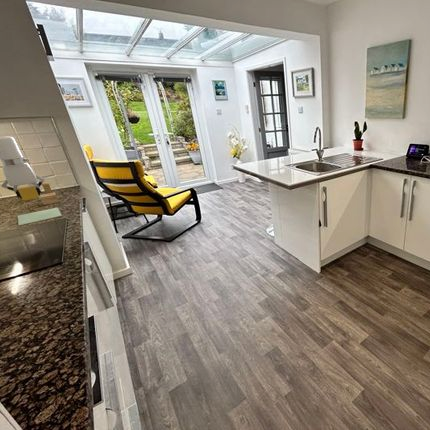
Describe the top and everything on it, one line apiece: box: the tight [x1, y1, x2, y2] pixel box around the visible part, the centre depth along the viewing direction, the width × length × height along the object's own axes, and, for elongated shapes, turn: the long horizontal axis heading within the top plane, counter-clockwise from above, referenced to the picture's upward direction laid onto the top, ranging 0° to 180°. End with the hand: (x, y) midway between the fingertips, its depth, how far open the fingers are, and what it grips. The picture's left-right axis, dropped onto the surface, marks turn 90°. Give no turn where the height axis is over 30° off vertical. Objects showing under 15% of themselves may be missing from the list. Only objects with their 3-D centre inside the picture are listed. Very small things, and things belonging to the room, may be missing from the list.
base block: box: [39, 192, 60, 206], centre depth 162 cm, size 7×7×5 cm
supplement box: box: [41, 181, 54, 194], centre depth 171 cm, size 3×3×10 cm
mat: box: [17, 207, 63, 227], centre depth 141 cm, size 20×16×1 cm
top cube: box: [17, 185, 40, 201], centre depth 136 cm, size 6×6×6 cm
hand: (30, 196), depth 137 cm, fingers closed on top cube, 6 cm apart
